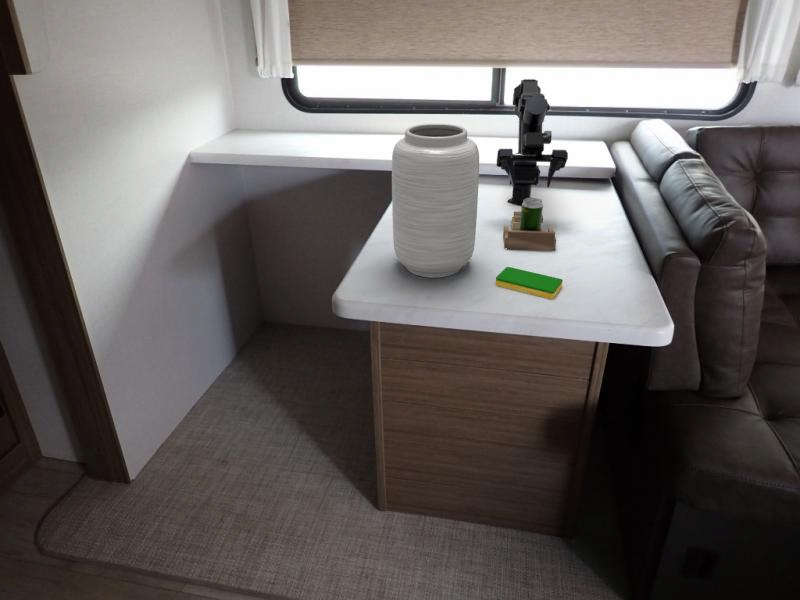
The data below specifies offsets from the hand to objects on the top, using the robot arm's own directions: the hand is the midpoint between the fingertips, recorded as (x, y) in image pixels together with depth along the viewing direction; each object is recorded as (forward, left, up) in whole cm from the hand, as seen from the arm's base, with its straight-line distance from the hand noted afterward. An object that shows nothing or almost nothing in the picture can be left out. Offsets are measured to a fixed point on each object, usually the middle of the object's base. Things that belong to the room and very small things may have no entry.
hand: (531, 186), depth 156 cm
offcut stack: (-1, -1, -13) cm, 13 cm away
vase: (+34, -8, -14) cm, 37 cm away
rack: (+7, +4, -13) cm, 15 cm away
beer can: (+7, +4, -14) cm, 16 cm away
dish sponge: (+29, +16, -14) cm, 36 cm away
